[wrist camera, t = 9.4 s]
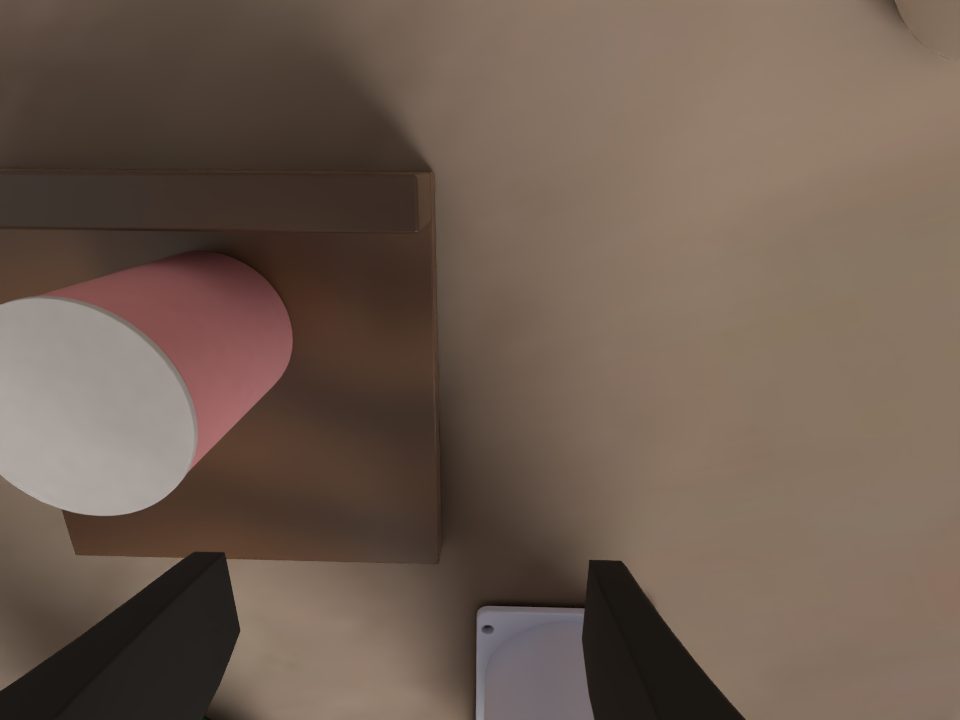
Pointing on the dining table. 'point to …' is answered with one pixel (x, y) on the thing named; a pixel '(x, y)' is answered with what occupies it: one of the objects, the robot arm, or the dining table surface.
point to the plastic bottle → (934, 24)
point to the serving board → (313, 363)
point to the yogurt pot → (133, 378)
